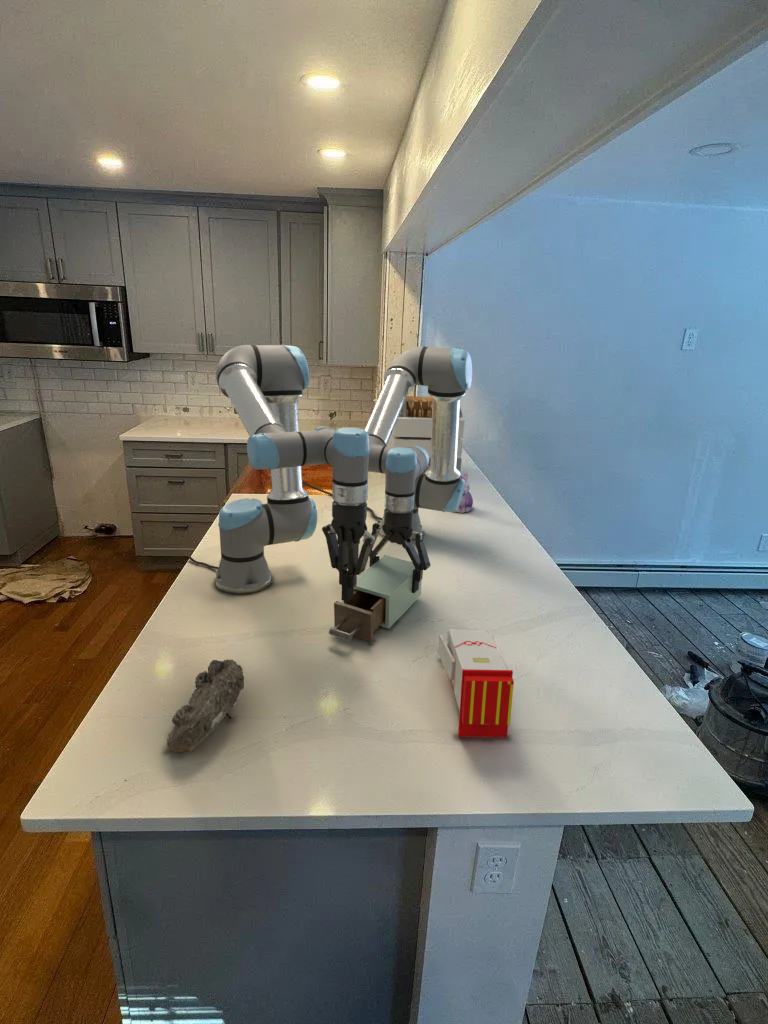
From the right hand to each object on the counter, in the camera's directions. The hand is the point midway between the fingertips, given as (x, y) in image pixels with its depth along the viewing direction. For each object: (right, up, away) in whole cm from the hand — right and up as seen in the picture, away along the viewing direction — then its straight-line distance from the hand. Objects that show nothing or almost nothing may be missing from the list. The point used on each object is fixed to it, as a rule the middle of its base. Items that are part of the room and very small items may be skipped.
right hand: (394, 585), depth 153 cm
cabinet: (-2, -5, -2) cm, 6 cm away
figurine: (+28, +21, +75) cm, 83 cm away
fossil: (-36, -19, -44) cm, 60 cm away
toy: (+15, -18, -34) cm, 41 cm away
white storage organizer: (+14, +39, +122) cm, 129 cm away
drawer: (-8, -8, -12) cm, 16 cm away
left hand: (-11, 0, -23) cm, 25 cm away
